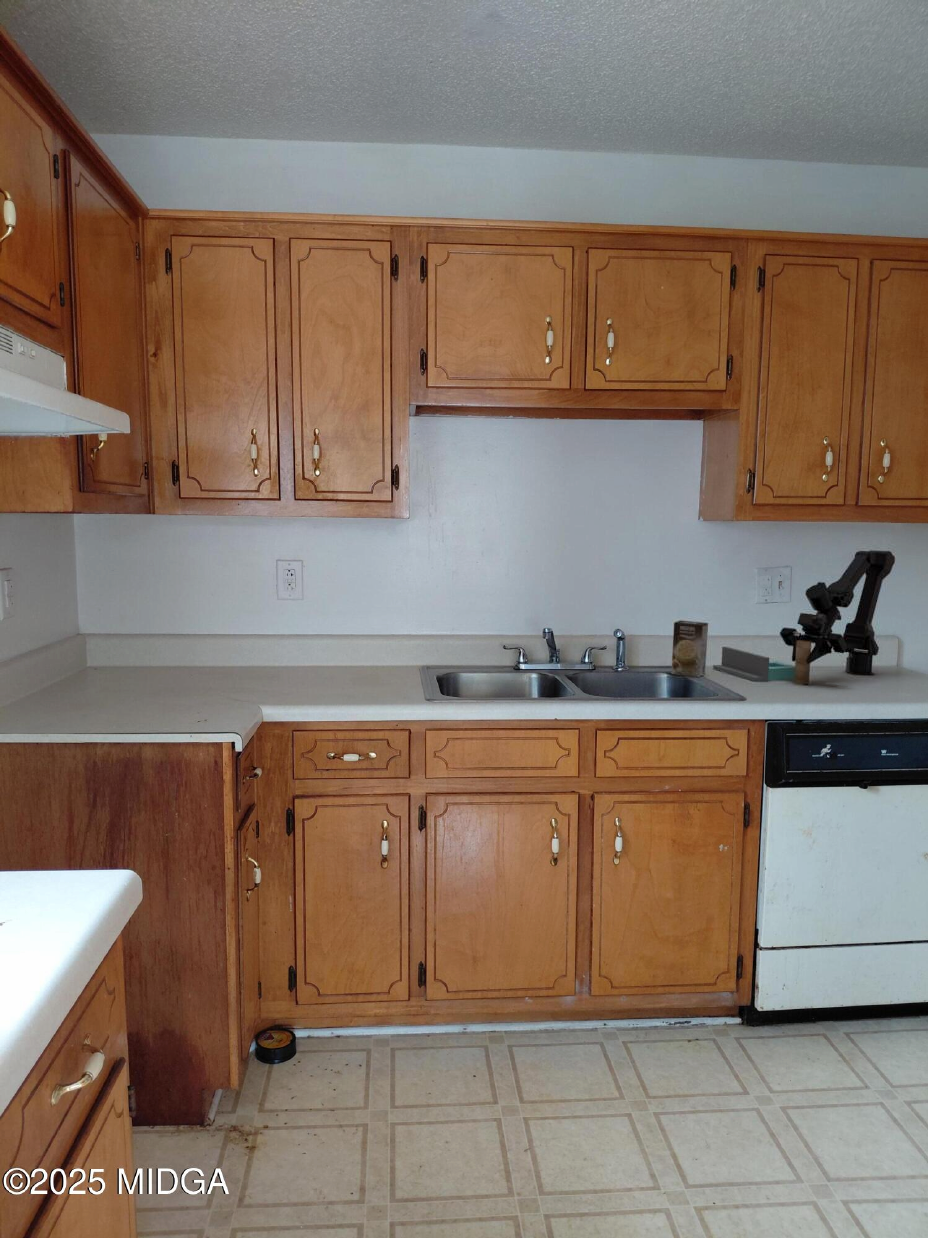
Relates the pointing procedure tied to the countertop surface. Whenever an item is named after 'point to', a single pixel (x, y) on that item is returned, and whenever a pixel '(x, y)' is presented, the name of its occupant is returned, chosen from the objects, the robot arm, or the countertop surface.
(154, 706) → the countertop surface
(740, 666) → the backstop wall
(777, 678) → the socket block
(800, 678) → the dowel
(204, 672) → the countertop surface
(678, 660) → the coffee box
